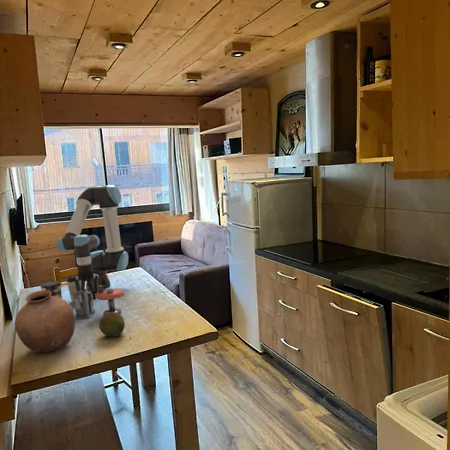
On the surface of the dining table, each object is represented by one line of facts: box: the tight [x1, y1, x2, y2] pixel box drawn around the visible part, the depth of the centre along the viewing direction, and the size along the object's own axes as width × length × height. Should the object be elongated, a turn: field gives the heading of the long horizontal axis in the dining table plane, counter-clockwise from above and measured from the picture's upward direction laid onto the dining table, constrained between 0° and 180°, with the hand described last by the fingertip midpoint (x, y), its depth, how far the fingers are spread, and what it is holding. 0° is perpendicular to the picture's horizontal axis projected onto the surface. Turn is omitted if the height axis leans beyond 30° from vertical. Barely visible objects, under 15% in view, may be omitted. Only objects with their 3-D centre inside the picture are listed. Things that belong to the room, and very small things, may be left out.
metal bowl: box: [103, 299, 122, 316], centre depth 211 cm, size 9×9×9 cm
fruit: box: [98, 312, 126, 338], centre depth 182 cm, size 12×13×10 cm
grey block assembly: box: [73, 289, 95, 320], centre depth 212 cm, size 12×9×13 cm
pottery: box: [14, 290, 76, 353], centre depth 171 cm, size 23×23×25 cm
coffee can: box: [39, 280, 63, 299], centre depth 228 cm, size 10×10×14 cm
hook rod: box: [75, 290, 92, 309], centre depth 213 cm, size 18×3×7 cm, turn 0°
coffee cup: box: [66, 274, 82, 303], centre depth 237 cm, size 9×9×15 cm
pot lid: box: [96, 285, 125, 301], centre depth 210 cm, size 14×14×5 cm
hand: (89, 306), depth 221 cm, fingers closed on hook rod, 3 cm apart
